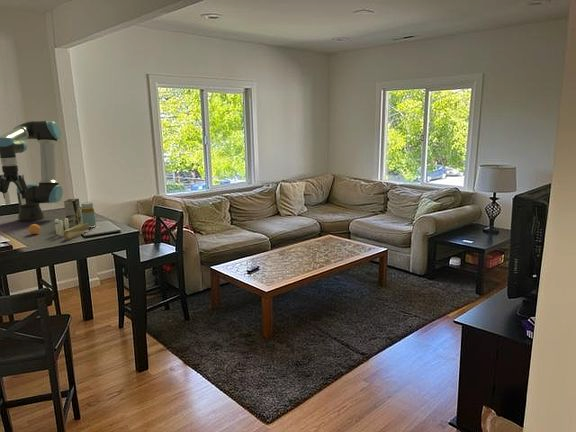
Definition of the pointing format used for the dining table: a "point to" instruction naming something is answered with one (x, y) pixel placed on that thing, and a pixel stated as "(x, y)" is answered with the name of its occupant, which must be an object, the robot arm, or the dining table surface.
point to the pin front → (57, 227)
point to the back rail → (75, 231)
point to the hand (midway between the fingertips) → (15, 204)
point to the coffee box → (73, 212)
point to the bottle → (88, 213)
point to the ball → (34, 229)
